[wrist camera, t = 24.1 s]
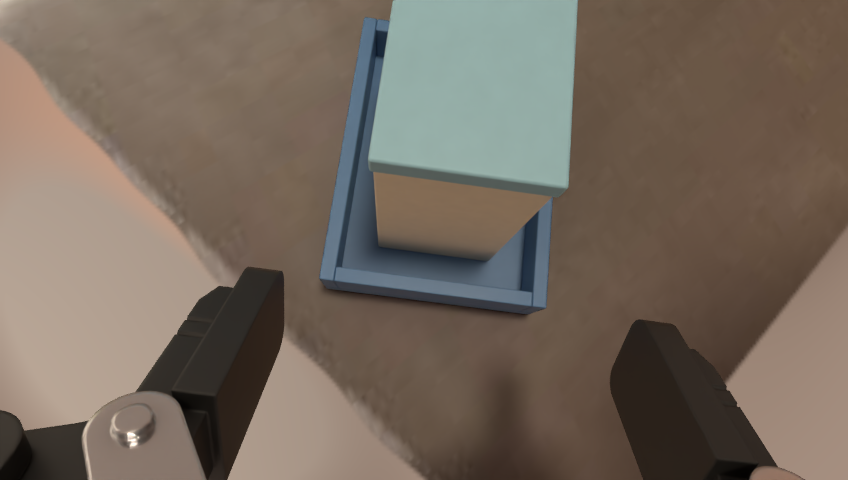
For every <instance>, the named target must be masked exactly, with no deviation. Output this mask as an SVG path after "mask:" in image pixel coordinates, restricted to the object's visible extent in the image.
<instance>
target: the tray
mask: <svg viewBox="0 0 848 480" xmlns="http://www.w3.org/2000/svg"><path fill="white" fill-rule="evenodd" d="M389 23H390V21H387V20H380V19H378V20H377V19H374V18H367V17H365V18H364V23H363V28H362V34H361V40H360V46H359V51H358V57H357V63H356V69H355V74H354V80H353V86H352V92H351V97H350V103H349V109H348V115H347V120H346V126H345V132H344V138H343V143H342V149H341V155H340V161H339V166H338V172H337V178H336V184H335V189H334V195H333V201H332V207H331V212H330V218H329V224H328V230H327V236H326V241H325V247H324V253H323V259H322V264H321V270H320V276H319V279H320V280H321V281H322V283H323V284H324V285H325V287H326V288H327V289H335V290H343V291H351V292H358V293H366V294H374V295H382V296H389V297H397V298H405V299H413V300H420V301H428V302H436V303H444V304H451V305H459V306H467V307H475V308H483V309H490V310H498V311H506V312H514V313H521V314H531V313H533V312H536V311H539V310H542V309H545V308H546V303H547V286H548V269H549V252H550V235H551V218H552V200H553V197H552V198H551V199H550V200H549V201H548V202H547V203H546V204H545V205H544V206H543V207H542V208H541V209H540V210H539V211H538V212H537V213H536V214H535V215H534V216H533V217H532V218H531V219H530V220H529V221H528V222H527V223H526V224H525V225H524V226H523V227H522V228H521V229H520V230H519V231H518V232H517V233H516V234H515V235H514V236H513V237H512V238H511V239H510V240H509V241H508V242H507V243H506V244H505V245H504V246H503V247H502V248H501V249H500V250H499V251H498V252H497V253H496V254H495V255H494V256H493V257H492V258H491V259H490V260H489V261H482V260H475V259H467V258H460V257H452V256H445V255H437V254H430V253H422V252H415V251H407V250H400V249H392V248H385V247H379V245H378V231H377V217H376V203H375V189H374V174H373V172H372V171H370V170H369V165H368V155H369V148H370V142H371V136H372V130H373V123H374V117H375V111H376V104H377V98H378V92H379V86H380V79H381V73H382V67H383V60H384V54H385V48H386V42H387V35H388V29H389Z"/></svg>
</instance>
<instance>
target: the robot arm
mask: <svg viewBox="0 0 848 480" xmlns="http://www.w3.org/2000/svg"><path fill="white" fill-rule="evenodd" d="M283 332H284V276H283V272H282V271H278V270H270V269H262V268H255V267H247V268H246V269H245V270H244V272H243V273H242V275H241V276H240V278H239V280H238V281H237V283H236V285H235V286H234V288H230V287H223V286H218V287H217V288H216V289H214V290H213V291H211V292H210V293H208V294H207V295H205V296H204V297H202V298H201V299H199V301H198V302H197V304H196V305H195V306H194V308H193V309H192V311H191V312H190V314H189V315H188V318H187V320H185V321H184V322H183V324H182V325H181V327H180V328H179V330H178V333H177V335H174V337H173V338H172V340H171V341H170V343H169V344H168V346H167V347H166V349H165V350H164V351H163V353H162V355H161V356H160V357H159V359H158V360H157V362H156V363H155V365H154V366H153V367H152V369H151V370H150V372H149V373H148V375H147V376H146V378H145V379H144V381H143V382H142V383H141V385H140V386H139V388H138V389H137V391H136V392H135V393H130V394H127V395H124V396H121V397H119V398H117V399H115V400H113V401H111V402H109V403H108V404H106V405H104V406H103V407H102V408H101V409H99V410H98V411H97V412H96V413H95V414H94V415H93V416H92V417H91V419H90V420H88V421H85V422H80V423H75V424H68V425H62V426H55V427H47V428H40V429H34V430H27V431H24V429H23V427H22V424H21V422H20V420H19V419H18V418H17V417H16V416H15V415H13V414H11V413H9V412H6V411H1V410H0V480H227V479H228V476H229V474H230V471H231V469H232V466H233V464H234V461H235V459H236V456H237V454H238V451H239V449H240V447H241V444H242V442H243V439H244V437H245V434H246V432H247V429H248V427H249V424H250V422H251V419H252V417H253V414H254V412H255V409H256V407H257V405H258V402H259V399H260V397H261V395H262V392H263V390H264V387H265V385H266V382H267V380H268V377H269V375H270V372H271V370H272V367H273V365H274V363H275V360H276V357H277V355H278V353H279V350H280V346H281V343H282V338H283ZM726 387H727V386H726V385H725V383H724V382H723V380H722V379H721V377H720V376H719V374H718V372H717V371H716V369H715V368H714V367H713V366H712V365H711V364H710V363H709V362H708V361H707V360H706V359H705V358H704V357H702V356H701V355H700V354H699V353H698V352H697V351H696V350H695V349H689V347H688V346H687V344H686V342H685V341H684V339H683V337H682V336H681V334H680V332H679V331H678V329H677V328H676V326H674V325H673V324H670V323H662V322H655V321H647V320H636V321H635V322H634V323H633V324H632V326H631V328H630V330H629V332H628V334H627V337H626V339H625V341H624V343H623V345H622V348H621V350H620V352H619V354H618V356H617V358H616V361H615V363H614V365H613V368H612V371H611V376H610V388H611V394H612V397H613V399H614V402H615V405H616V407H617V410H618V413H619V415H620V418H621V421H622V424H623V426H624V429H625V432H626V434H627V437H628V440H629V442H630V445H631V448H632V450H633V453H634V456H635V458H636V461H637V464H638V467H639V469H640V472H641V475H642V477H643V480H805V479H803V478H801V477H800V476H798V475H796V474H794V473H792V472H790V471H787V470H785V469H782V468H778V466H777V465H776V463H775V462H774V460H773V459H772V457H771V455H770V454H769V452H768V451H767V449H766V448H765V446H764V444H763V443H762V441H761V440H760V438H759V437H758V435H757V433H756V432H755V430H754V429H753V427H752V426H751V424H750V423H749V421H748V419H747V418H746V416H745V415H744V413H743V412H742V410H741V409H740V407H737V402H736V401H735V399H734V398H733V396H732V394H731V393H730V391H727V390H726Z"/></svg>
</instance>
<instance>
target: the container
mask: <svg viewBox="0 0 848 480" xmlns="http://www.w3.org/2000/svg"><path fill="white" fill-rule="evenodd" d="M577 8H578V0H393V4H392V10H391V16H390V23H389V29H388V35H387V42H386V48H385V54H384V60H383V67H382V73H381V79H380V86H379V92H378V98H377V104H376V111H375V117H374V123H373V130H372V136H371V142H370V148H369V155H368V165H369V170H370V171H372V172H373V174H374V189H375V203H376V217H377V231H378V245H379V247H385V248H392V249H400V250H407V251H415V252H422V253H430V254H437V255H445V256H452V257H460V258H467V259H475V260H482V261H489V260H490V259H491V258H492V257H493V256H494V255H495V254H496V253H497V252H498V251H499V250H500V249H501V248H502V247H503V246H504V245H505V244H506V243H507V242H508V241H509V240H510V239H511V238H512V237H513V236H514V235H515V234H516V233H517V232H518V231H519V230H520V229H521V228H522V227H523V226H524V225H525V224H526V223H527V222H528V221H529V220H530V219H531V218H532V217H533V216H534V215H535V214H536V213H537V212H538V211H539V210H540V209H541V208H542V207H543V206H544V205H545V204H546V203H547V202H548V201H549V200H550V199H551V198H552V197H560V196H561V195H562V194H563V193H564V192H565V191H566V190H567V189H568V185H569V166H570V146H571V126H572V106H573V87H574V67H575V47H576V27H577Z"/></svg>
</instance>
